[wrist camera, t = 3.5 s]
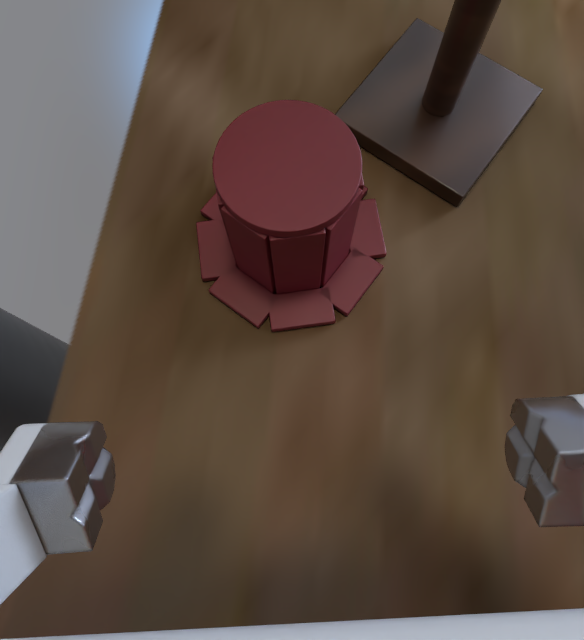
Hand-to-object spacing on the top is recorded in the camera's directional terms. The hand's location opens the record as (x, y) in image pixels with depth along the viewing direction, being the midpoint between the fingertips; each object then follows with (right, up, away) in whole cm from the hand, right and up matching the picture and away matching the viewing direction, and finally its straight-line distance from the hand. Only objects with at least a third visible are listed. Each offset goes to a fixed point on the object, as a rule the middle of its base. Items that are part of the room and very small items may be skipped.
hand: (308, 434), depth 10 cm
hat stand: (+8, +15, +22) cm, 28 cm away
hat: (0, +7, +20) cm, 21 cm away
